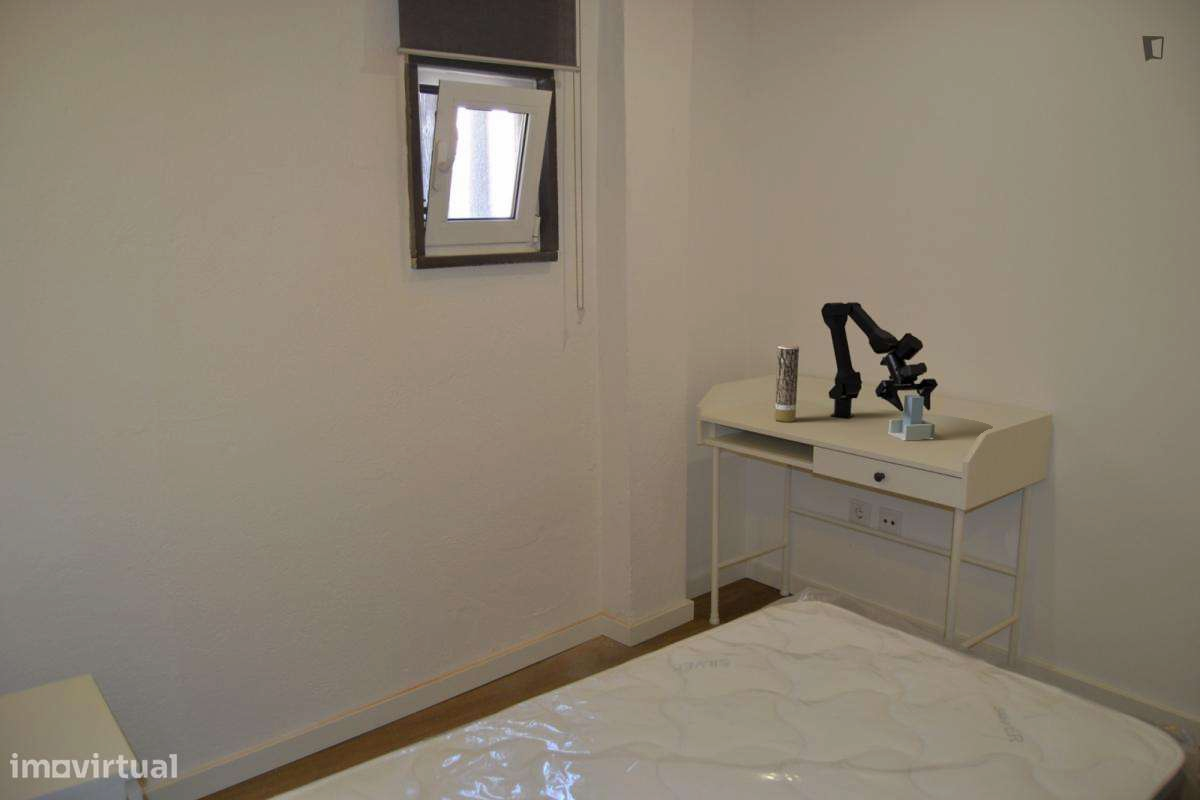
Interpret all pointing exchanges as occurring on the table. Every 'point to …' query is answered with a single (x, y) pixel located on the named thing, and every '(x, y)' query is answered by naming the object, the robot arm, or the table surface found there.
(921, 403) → the peg
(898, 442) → the table surface
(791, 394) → the paper tube
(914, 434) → the slot bay
